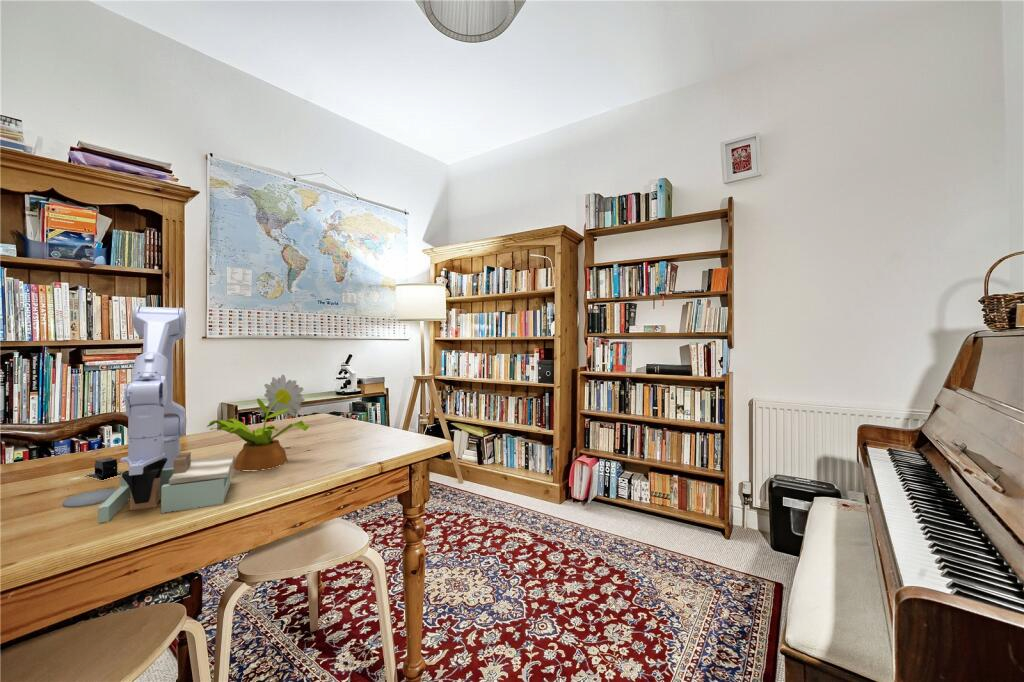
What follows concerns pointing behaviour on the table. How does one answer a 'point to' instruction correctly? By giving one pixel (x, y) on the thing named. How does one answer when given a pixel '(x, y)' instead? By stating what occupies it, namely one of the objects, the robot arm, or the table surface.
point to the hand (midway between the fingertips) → (145, 498)
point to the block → (153, 498)
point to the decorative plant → (259, 443)
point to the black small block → (105, 468)
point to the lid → (199, 468)
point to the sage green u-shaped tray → (172, 495)
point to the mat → (88, 498)
